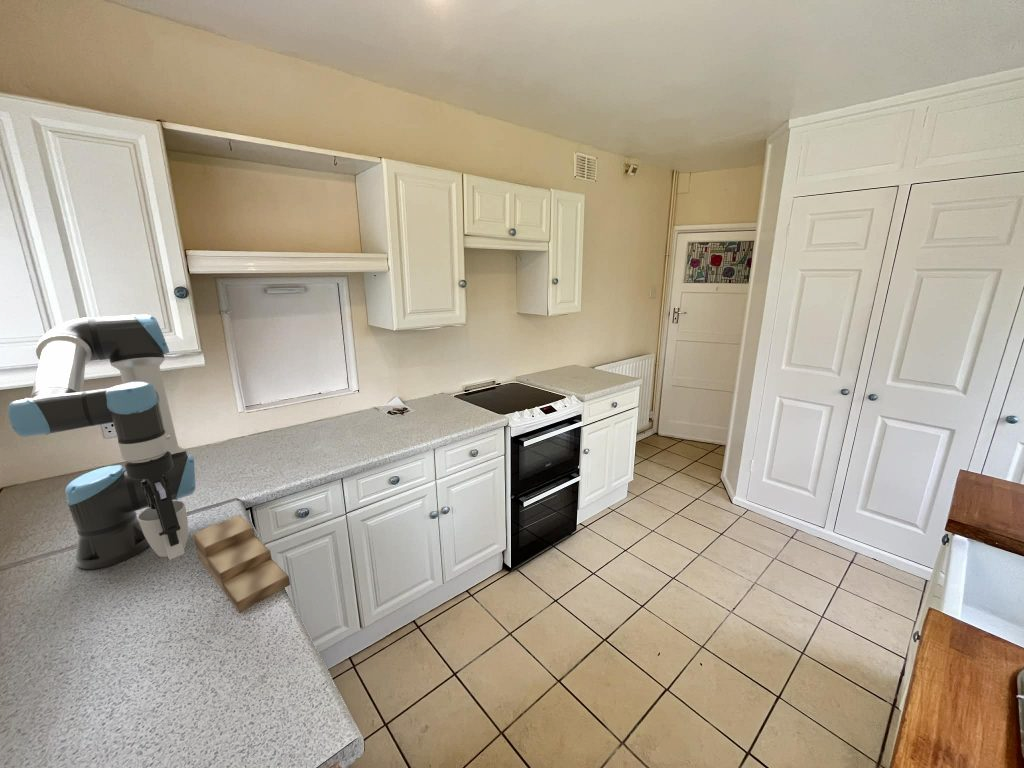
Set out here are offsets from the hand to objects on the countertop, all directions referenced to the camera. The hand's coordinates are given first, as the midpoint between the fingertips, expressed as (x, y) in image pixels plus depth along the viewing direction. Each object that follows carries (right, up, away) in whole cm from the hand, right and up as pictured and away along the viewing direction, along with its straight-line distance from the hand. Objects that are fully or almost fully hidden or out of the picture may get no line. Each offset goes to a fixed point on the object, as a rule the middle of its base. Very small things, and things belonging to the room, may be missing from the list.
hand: (171, 548), depth 94 cm
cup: (0, -1, 0) cm, 1 cm away
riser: (+8, -11, +12) cm, 18 cm away
